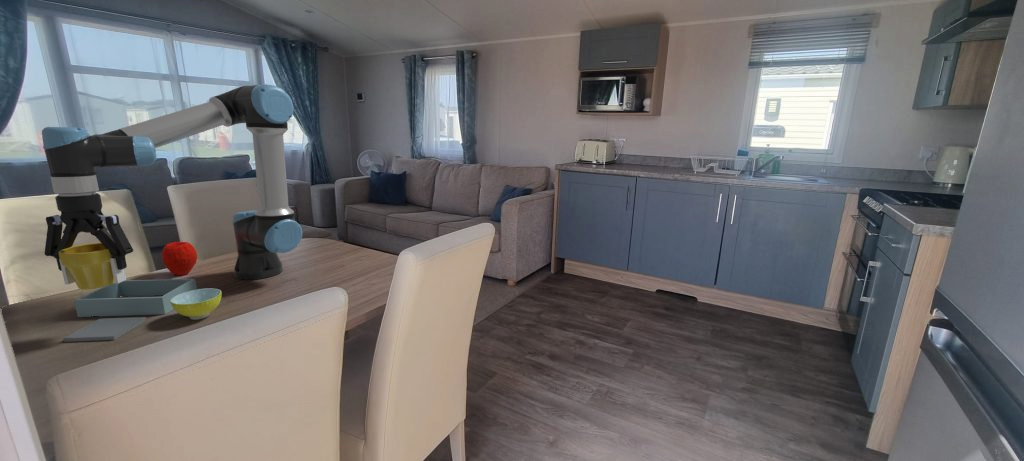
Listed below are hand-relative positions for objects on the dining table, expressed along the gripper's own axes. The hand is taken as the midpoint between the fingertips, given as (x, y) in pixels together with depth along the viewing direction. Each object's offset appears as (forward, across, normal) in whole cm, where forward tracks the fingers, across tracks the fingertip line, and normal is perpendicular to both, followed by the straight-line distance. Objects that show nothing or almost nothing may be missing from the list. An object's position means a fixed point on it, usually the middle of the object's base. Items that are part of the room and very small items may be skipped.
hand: (96, 282), depth 104 cm
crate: (+13, +3, -17) cm, 22 cm away
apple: (+13, +8, -45) cm, 48 cm away
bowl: (+13, -18, -7) cm, 24 cm away
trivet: (+13, 0, 0) cm, 13 cm away
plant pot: (+1, 0, 0) cm, 1 cm away
